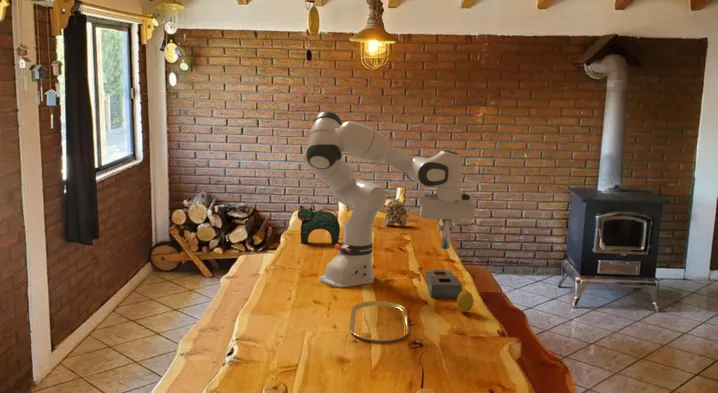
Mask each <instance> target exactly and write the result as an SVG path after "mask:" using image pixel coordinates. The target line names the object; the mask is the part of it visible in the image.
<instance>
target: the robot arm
mask: <svg viewBox="0 0 718 393" xmlns="http://www.w3.org/2000/svg"><path fill="white" fill-rule="evenodd" d="M309 132H310V133H309V135H308V144H307V147H306V148H305V150H304V152H303V162H304V163H305V165H306V166H307V167H308V168H309V170H310V171H311V172H312V173H313V174H314V175H315V176H316V177H317V178H319V180H321V181H322V182H323V183H324V185H326V186H327V187H329V189H330V190H331V191H332V193H333V194H332V195H333V197H334V199H335V200H336V201H337V202H339V203H341V205H343V206H348V207H351V208H352V212H351V215H350V217H349V218H348V219H346V220H345V221H344V225H343V242H342V244H339V243H338V244H334V248H335V249H336V250H339V252H338V254H336V256H334V257H333V258H332V259H331V261H329V262H328V263H327V265H326V268H325V273H324V274H322V275H320V276H319V279H318V280H319V281H320V282H322V283H323V284H325V285H328V286H332V287H335V288H347V287H353V286H354V287H355V286H359V285H367V284H374V282H375V274H374V269H373V267H374V266H373V258H372V257H373V256H372V253H373V249H374V247H373V246H374V245H373V242H372V239H373V226H374V222H375V218H376V215H377V214H378V212H380V210H382V209H383V207H384V206H385V204H386V202H387V193H386V190H385V189H384V188H382V187H381V186H379V185H378V184H377V183H374V182H370V181H366V180H362V179H359V178H358V177H356V176H355V175H354V174H353V169H352V167H351V166H350V165H349V164H348V163H347V162H346V161H345V160H343V156H342V155H343V154H342V153H344V152H345V153H346V152H347V153H350V154H352V155H354V156H356V157H358V158H360V159H362V160H365V161H367V162H371V163H375V164H379V163H385V164H388V165H389V166H392V167H393V168H396V169H398V170H400V171H402V173H403V174H404V175H405V176H406V178H408V179H409V181H411V182H413V183H417V184H418V185H421V186H423V187H428V188H429V187H436V191H435V193H424V194H422V195H421V196H420V198H419V204H420V208H419V209H420V210H419V216H420V218H422V219H426V220H427V219H428V220H431V219H432V220H434V221H435V223H436V224H437V231H441V232H442V230H443V229H442V228H443V226H442V224H440V222H441V220H442V219H451V220H453V224H451V231H450V232H455V231H456V230H455V229H456V226H457V225H458V223H459V220H466V221H468V220H469V221H470V220H471V221H472V220H474V219H475V216H476V215H475V214H476V211H475V210H476V209H475V204H474V201H473V198H474V197H473V194H472V193H470V192H468V191H466V190H463V189H461V187H462V186H461V179H462V173H463V171H462V170H463V166H462V165H463V164H462V157H461V155H460V154H459V153H458V152H457V151H456V152H455V151H452V150H448V149H447V150H446V149H442V150H441V151H440V152H438V153H437V154H435V155H433V156H431V157H428V158H426V157H424V156H422V155H418V154H416V155H410V154H407V153H405V152H403V151H402V150H399V149H398V148H395V147H393V146H392V145H391V141H390V140H389V138H388V137H387V136H386V135H384V134H383V133H381V132H380V131H377V130H376V129H374V128H373V127H370V126H368V125H366V124H362V123H359V122H356V121H352V120H347V121H344V122H343V123H342V118H340V116H338V114H336V113H334V112H331V111H322V112H319V113H318V114H316V116H315V118H314V120H313V121H312V126H311V129H310V131H309Z"/></svg>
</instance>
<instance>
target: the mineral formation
mask: <svg viewBox="0 0 718 393" xmlns="http://www.w3.org/2000/svg"><path fill="white" fill-rule="evenodd" d="M385 211H386V213H385V215H384V220H383V224H384V225H385V226H388V227H389V226H390V225H395V224H397V225H399V226H401V227H405V226H406V225H407V224H408V221H407V219H408V218H410V217H409V216H410V215H409V214H408V212H407V210H406V207H405V205H404V204H403V203H402V201H400V199H399V198H395V199H392V200H390V201H388V202H387V205H386V206H385Z"/></svg>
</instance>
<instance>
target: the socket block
mask: <svg viewBox="0 0 718 393" xmlns="http://www.w3.org/2000/svg"><path fill="white" fill-rule="evenodd" d="M424 275H425V279H424V280H425V282H426V284H427V286H428V276H455V275H454V273H453V270H451V269H428V268H427V269H425V274H424Z"/></svg>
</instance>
